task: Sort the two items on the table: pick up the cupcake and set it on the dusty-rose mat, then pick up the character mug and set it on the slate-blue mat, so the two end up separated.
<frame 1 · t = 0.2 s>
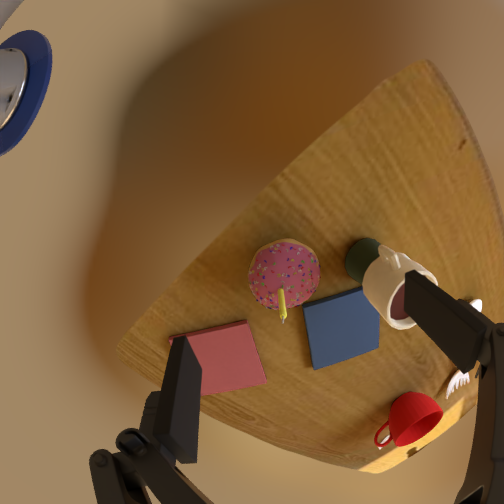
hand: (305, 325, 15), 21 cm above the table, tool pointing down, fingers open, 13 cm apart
cupcake: (277, 260, 36), on the table
ceramic cup: (395, 404, 51), on the table
rose mat: (220, 360, 41), on the table
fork: (406, 425, 57), on the table
character mug: (362, 257, 37), on the table
blue mat: (343, 327, 41), on the table
spoon: (459, 348, 48), on the table
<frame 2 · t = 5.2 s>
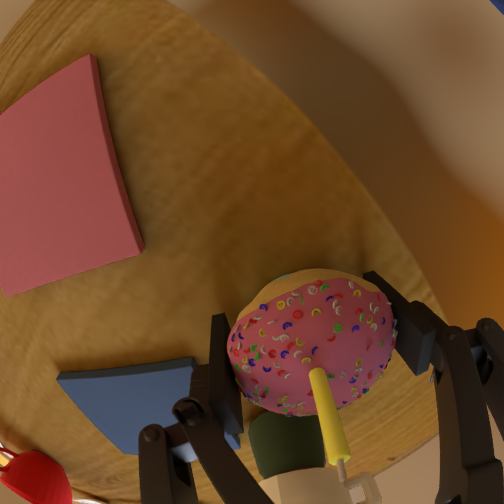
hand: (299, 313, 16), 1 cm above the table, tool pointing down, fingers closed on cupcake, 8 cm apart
cupcake: (295, 304, 17), on the table, touching gripper
ceramic cup: (39, 453, 24), on the table
rose mat: (33, 188, 13), on the table
character mug: (282, 419, 21), on the table
blue mat: (150, 415, 20), on the table
spoon: (137, 503, 30), on the table
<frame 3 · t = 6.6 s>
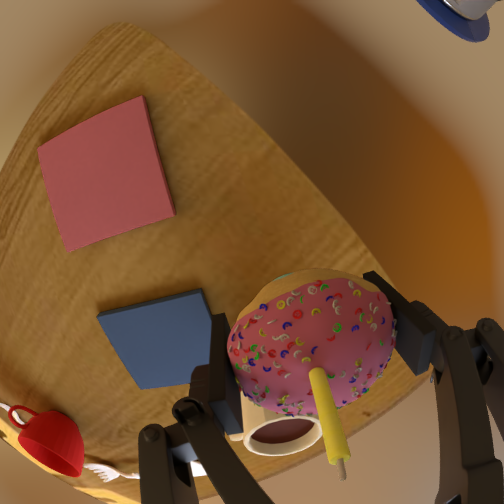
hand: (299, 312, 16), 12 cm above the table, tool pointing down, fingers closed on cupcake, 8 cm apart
cupcake: (295, 304, 17), point 11 cm above the table, touching gripper
ceramic cup: (56, 414, 34), on the table
rose mat: (100, 176, 23), on the table
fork: (31, 426, 36), on the table
character mug: (264, 348, 32), on the table
blue mat: (166, 344, 30), on the table
spoon: (142, 464, 40), on the table
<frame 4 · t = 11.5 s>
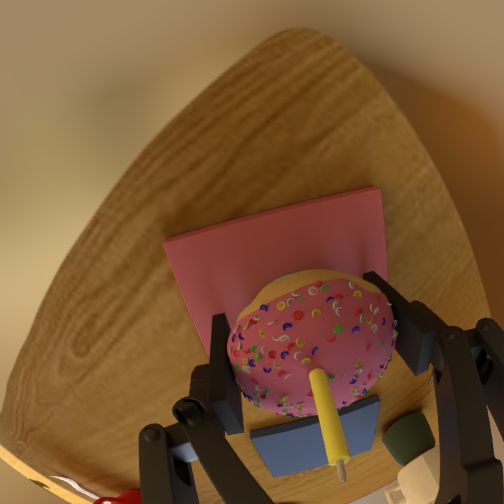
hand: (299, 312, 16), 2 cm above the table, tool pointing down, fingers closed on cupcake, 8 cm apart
cupcake: (296, 304, 17), point 1 cm above the table, touching gripper, rose mat
ceramic cup: (138, 491, 29), on the table
rose mat: (293, 298, 18), on the table
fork: (92, 491, 31), on the table
character mug: (400, 422, 26), on the table
blue mat: (319, 441, 25), on the table
when the fingers open (2 cm above the table, at t = 11.7 s): cupcake stays where it is, resting on rose mat.
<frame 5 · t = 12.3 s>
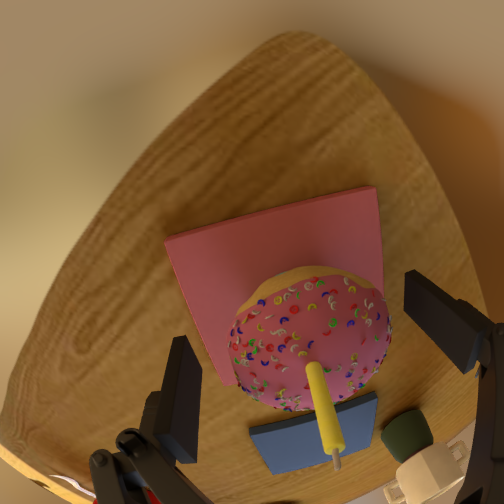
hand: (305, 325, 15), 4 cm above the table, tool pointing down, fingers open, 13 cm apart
cupcake: (293, 301, 17), point 1 cm above the table, touching rose mat
ceramic cup: (138, 489, 30), on the table
rose mat: (291, 295, 18), on the table
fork: (92, 491, 32), on the table
character mug: (398, 420, 27), on the table
blue mat: (317, 438, 25), on the table
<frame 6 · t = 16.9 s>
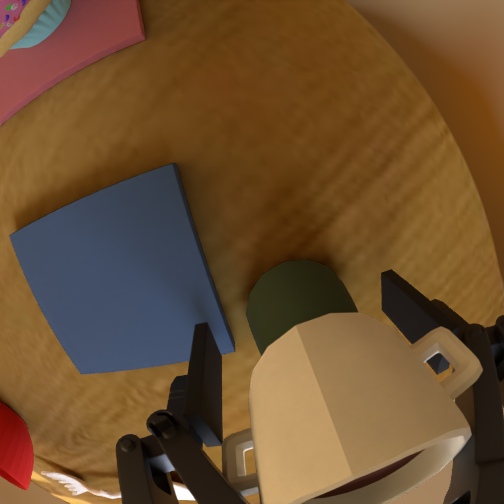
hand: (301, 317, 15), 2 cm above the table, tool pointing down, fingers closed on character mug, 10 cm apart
cupcake: (46, 18, 8), point 1 cm above the table, touching rose mat
ceramic cup: (2, 405, 21), on the table
rose mat: (52, 21, 9), on the table
character mug: (294, 300, 17), on the table, touching gripper
blue mat: (112, 288, 16), on the table
spoon: (113, 479, 27), on the table
when the fingers open (3 cm above the table, at t = 23.4 s): character mug stays where it is, resting on blue mat.
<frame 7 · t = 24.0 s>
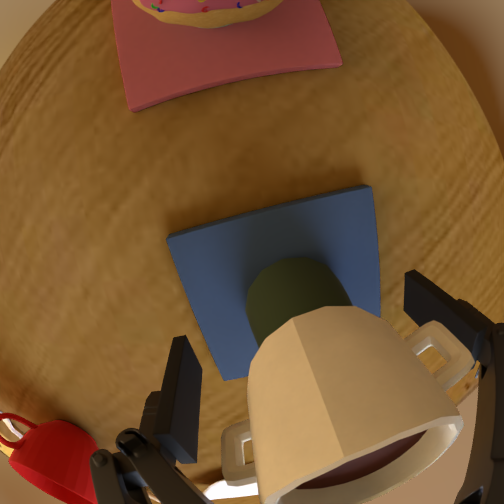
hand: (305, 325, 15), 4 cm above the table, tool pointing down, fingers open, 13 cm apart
cupcake: (215, 1, 11), point 1 cm above the table, touching rose mat
ceramic cup: (64, 424, 23), on the table
rose mat: (216, 7, 12), on the table
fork: (29, 437, 25), on the table
character mug: (291, 296, 18), point 1 cm above the table, touching blue mat
blue mat: (289, 291, 19), on the table
spoon: (185, 485, 30), on the table
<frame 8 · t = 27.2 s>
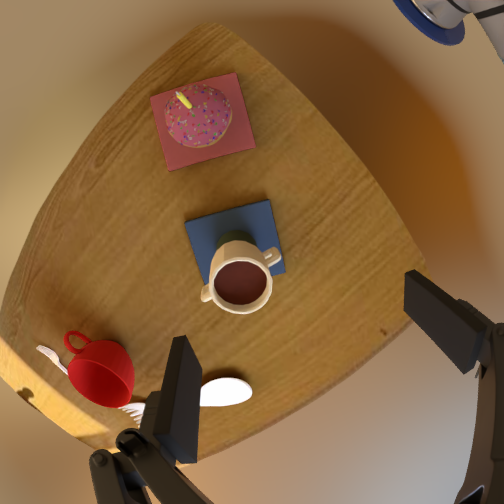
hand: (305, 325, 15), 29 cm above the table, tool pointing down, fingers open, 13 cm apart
cupcake: (201, 119, 35), point 1 cm above the table, touching rose mat
ceramic cup: (107, 345, 48), on the table
rose mat: (202, 120, 36), on the table
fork: (70, 371, 50), on the table
character mug: (236, 248, 42), point 1 cm above the table, touching blue mat
blue mat: (236, 246, 43), on the table
spoon: (183, 397, 54), on the table
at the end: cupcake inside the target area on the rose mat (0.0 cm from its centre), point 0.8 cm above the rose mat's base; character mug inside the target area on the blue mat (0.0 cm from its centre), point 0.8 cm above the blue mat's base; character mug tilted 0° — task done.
